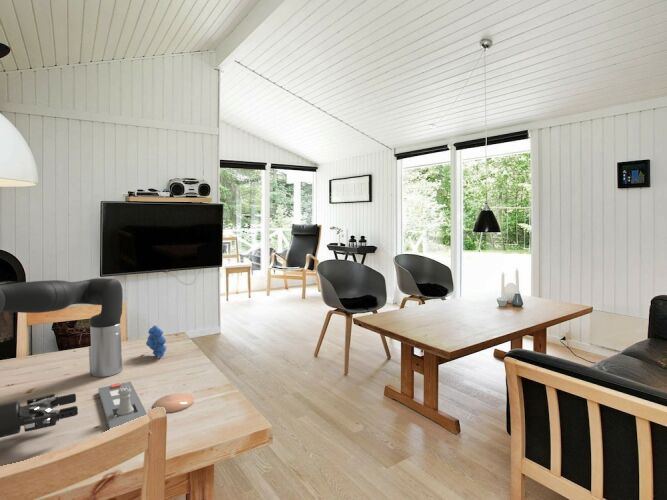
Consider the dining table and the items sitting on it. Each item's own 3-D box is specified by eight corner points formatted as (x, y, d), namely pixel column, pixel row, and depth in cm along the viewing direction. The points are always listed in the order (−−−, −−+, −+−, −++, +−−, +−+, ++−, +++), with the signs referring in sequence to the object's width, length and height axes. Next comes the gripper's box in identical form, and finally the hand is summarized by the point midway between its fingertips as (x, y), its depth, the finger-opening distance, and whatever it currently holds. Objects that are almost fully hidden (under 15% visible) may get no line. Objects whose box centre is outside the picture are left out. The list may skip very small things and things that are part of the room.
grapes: (139, 355, 157) (138, 325, 156) (156, 351, 162) (155, 322, 161) (153, 362, 149) (152, 331, 149) (170, 357, 155) (169, 327, 154)
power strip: (98, 392, 123) (98, 386, 123) (130, 385, 128) (130, 379, 128) (111, 435, 99) (110, 427, 99) (150, 424, 104) (149, 417, 104)
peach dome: (144, 409, 112) (144, 407, 112) (170, 393, 123) (170, 391, 123) (178, 414, 110) (178, 412, 110) (201, 397, 120) (201, 395, 120)
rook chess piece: (120, 412, 111) (119, 384, 110) (137, 411, 111) (136, 384, 111) (113, 420, 106) (112, 391, 106) (130, 419, 107) (129, 391, 106)
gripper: (-11, 419, 86) (77, 399, 96) (-4, 395, 98) (74, 380, 107) (-9, 452, 87) (79, 429, 96) (-2, 424, 99) (75, 407, 108)
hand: (76, 403), depth 102 cm, fingers open, 8 cm apart
